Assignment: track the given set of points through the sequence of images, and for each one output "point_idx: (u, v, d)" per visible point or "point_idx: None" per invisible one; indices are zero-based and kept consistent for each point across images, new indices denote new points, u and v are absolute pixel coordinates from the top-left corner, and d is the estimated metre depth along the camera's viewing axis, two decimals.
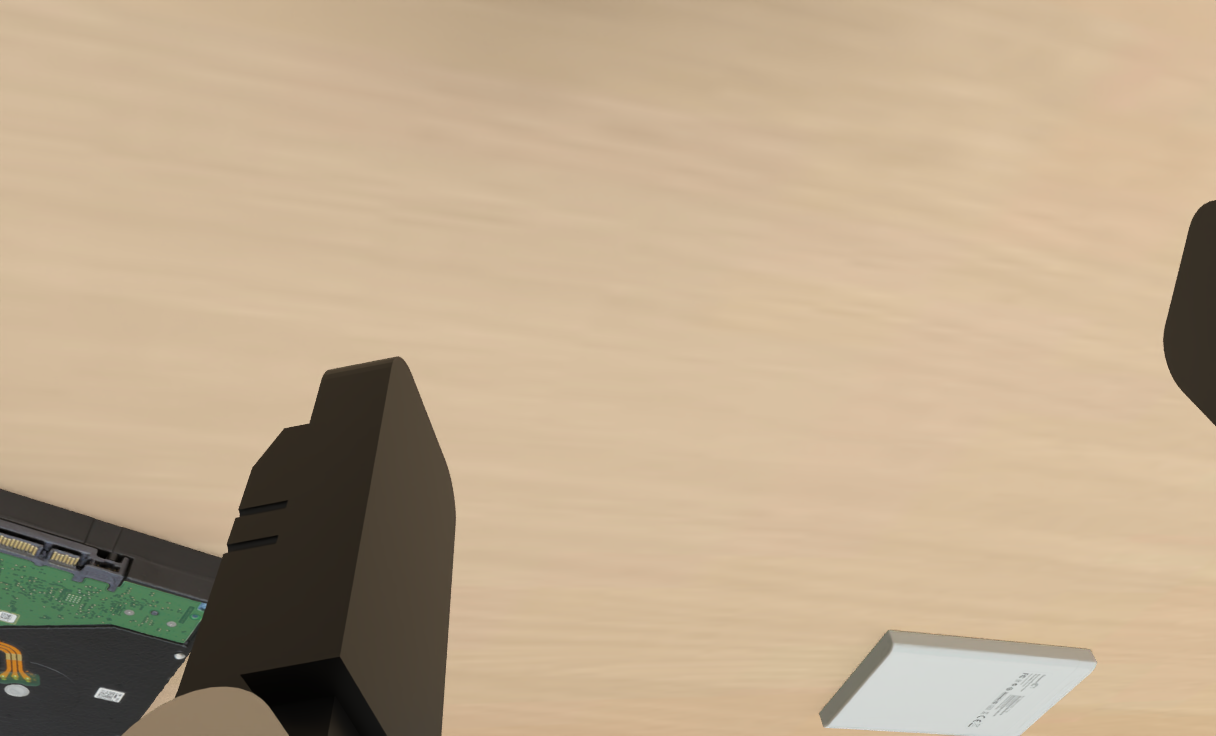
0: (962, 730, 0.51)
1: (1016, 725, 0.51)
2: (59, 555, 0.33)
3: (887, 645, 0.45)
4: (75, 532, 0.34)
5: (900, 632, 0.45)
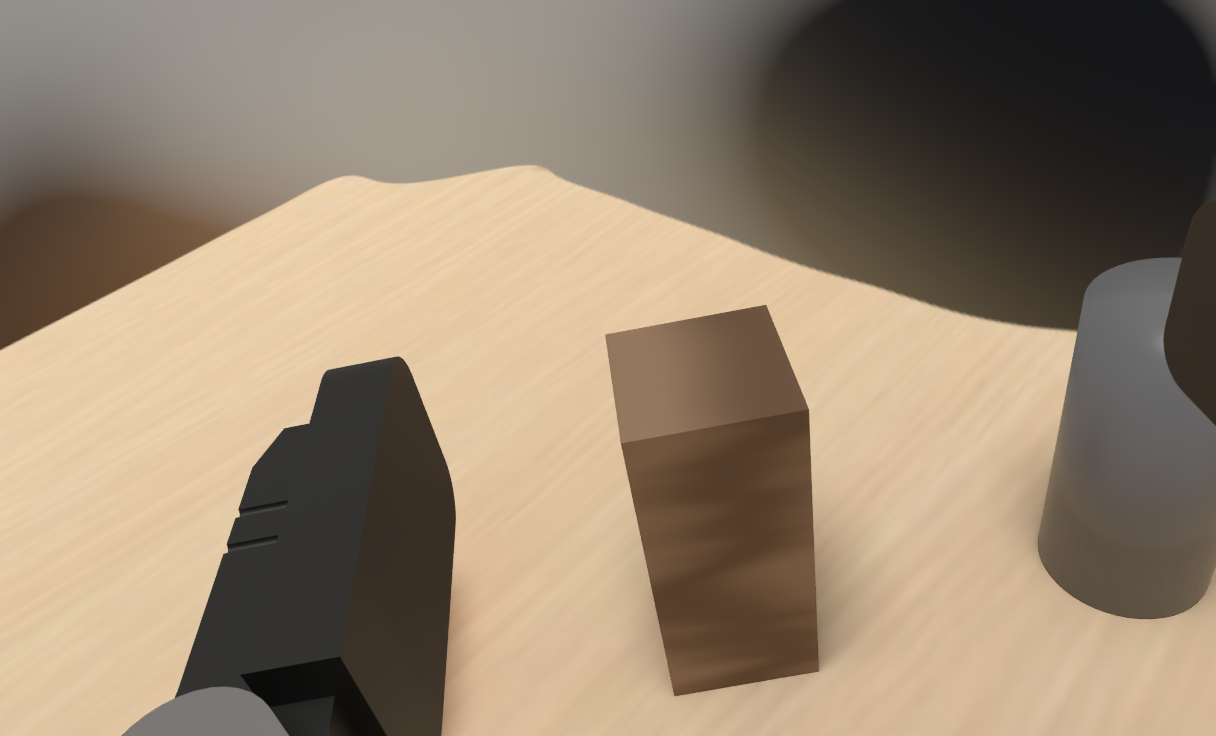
0: None
1: None
2: None
3: None
4: None
5: None
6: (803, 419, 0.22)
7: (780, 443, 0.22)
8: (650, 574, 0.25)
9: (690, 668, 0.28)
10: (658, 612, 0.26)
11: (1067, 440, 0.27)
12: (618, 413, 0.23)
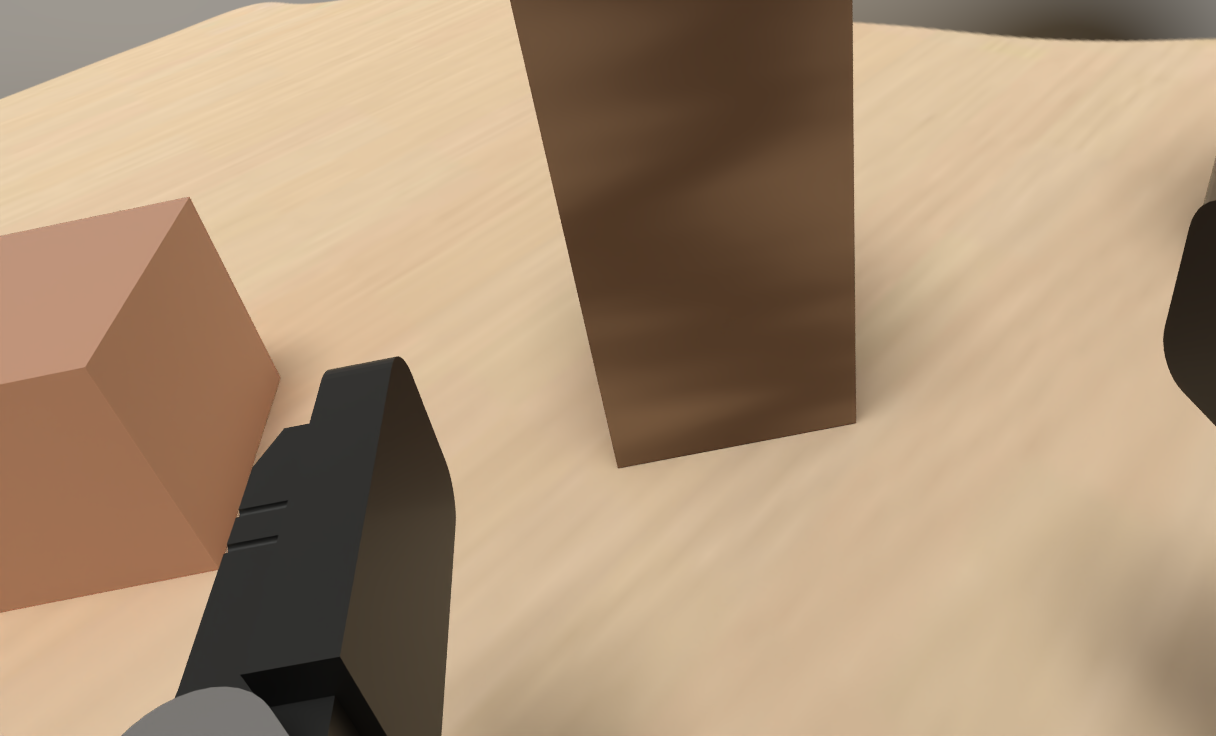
0: None
1: None
2: None
3: None
4: None
5: None
6: None
7: None
8: (555, 184, 0.14)
9: (640, 409, 0.16)
10: (577, 279, 0.15)
11: None
12: None
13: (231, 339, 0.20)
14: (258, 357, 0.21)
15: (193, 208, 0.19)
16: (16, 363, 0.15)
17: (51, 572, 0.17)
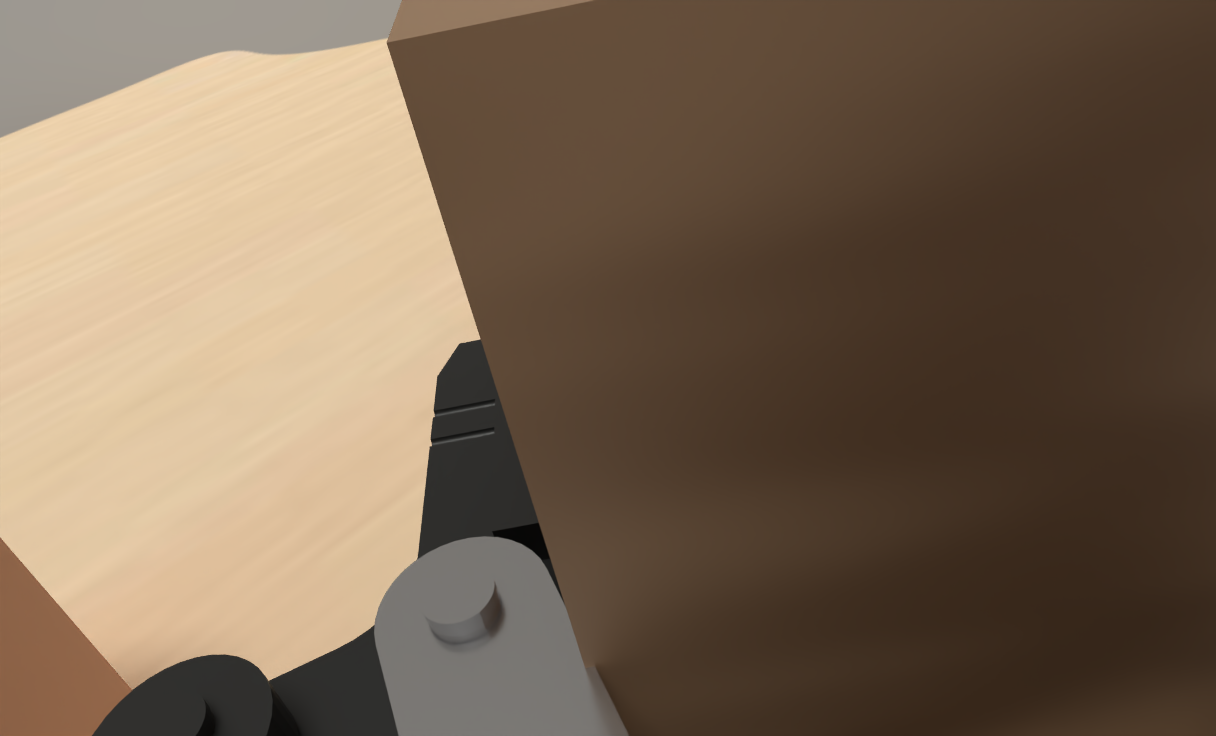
0: None
1: None
2: None
3: None
4: None
5: None
6: None
7: None
8: None
9: None
10: None
11: None
12: None
13: None
14: None
15: None
16: None
17: None
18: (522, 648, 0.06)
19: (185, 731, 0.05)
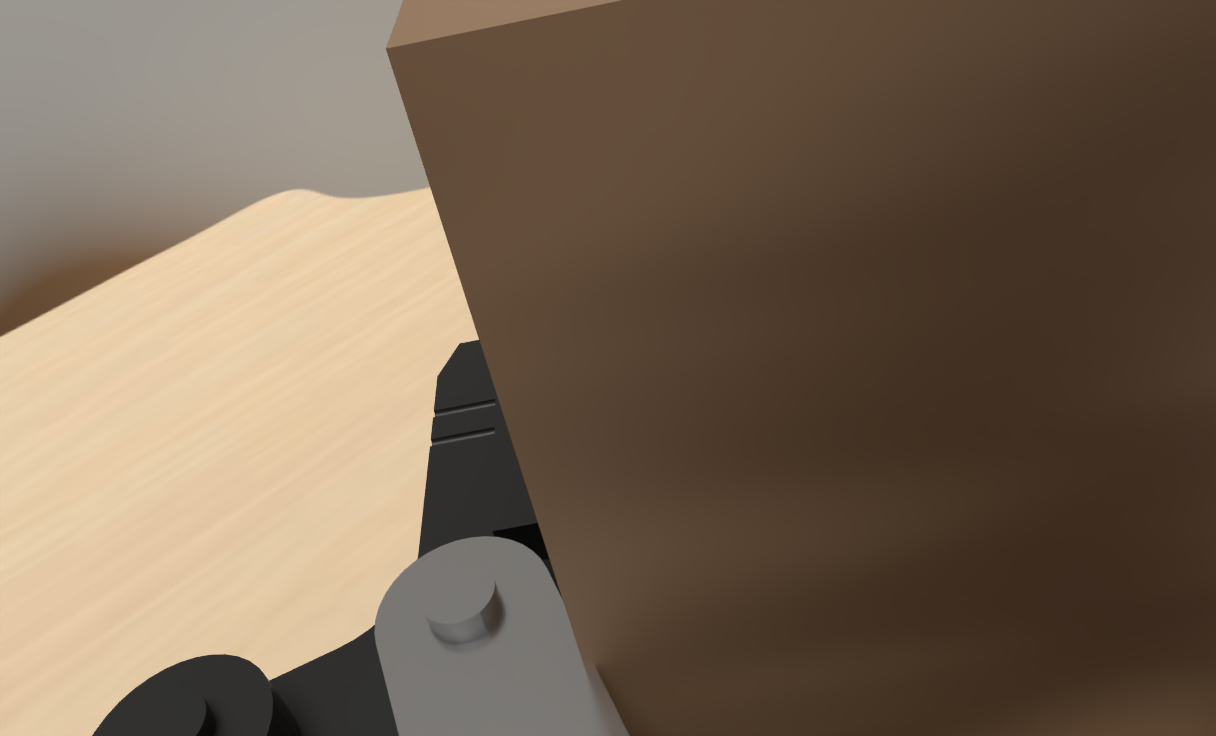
0: None
1: None
2: None
3: None
4: None
5: None
6: None
7: None
8: None
9: None
10: None
11: None
12: None
13: None
14: None
15: None
16: None
17: None
18: (523, 648, 0.06)
19: (185, 731, 0.05)
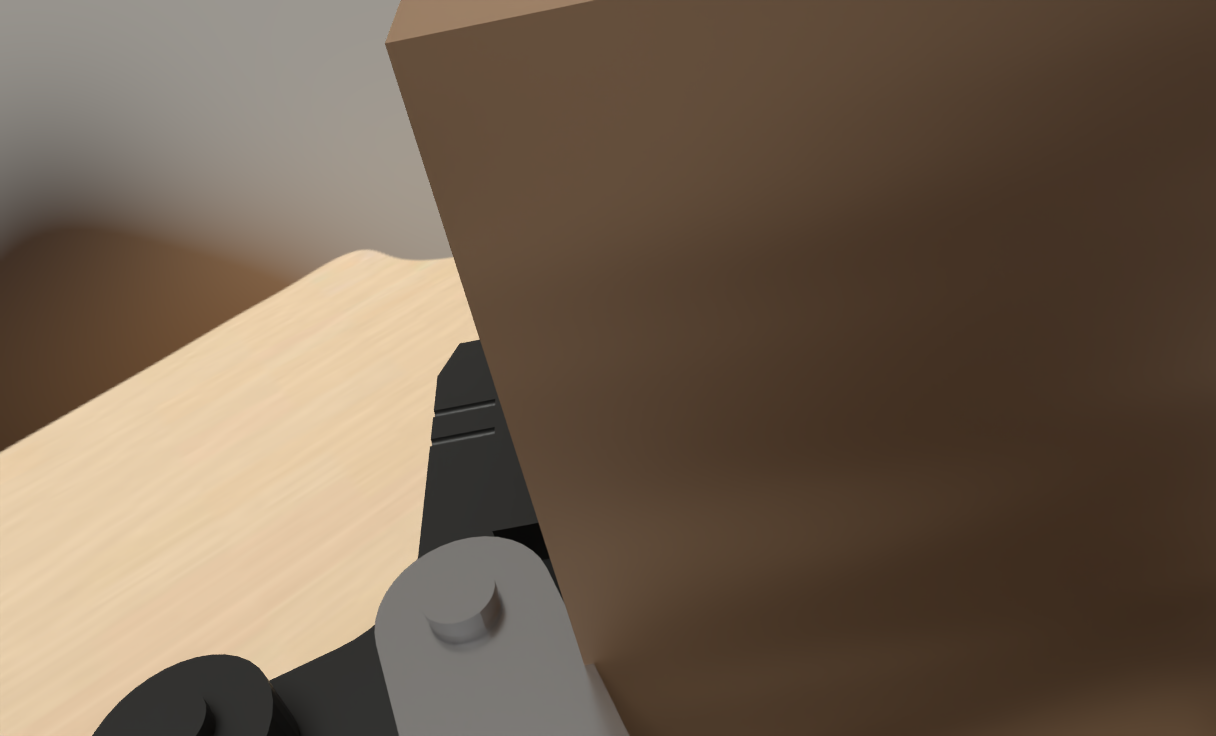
0: None
1: None
2: None
3: None
4: None
5: None
6: None
7: None
8: None
9: None
10: None
11: None
12: None
13: None
14: None
15: None
16: None
17: None
18: (522, 648, 0.06)
19: (186, 731, 0.05)
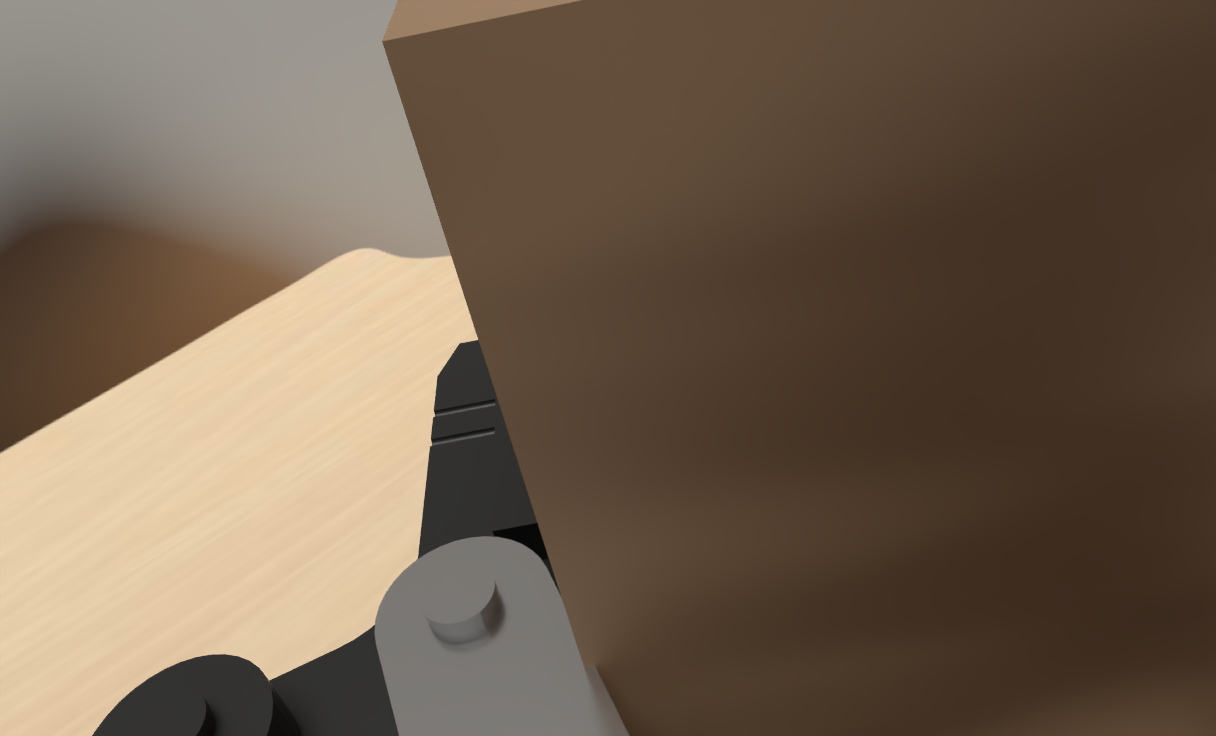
0: None
1: None
2: None
3: None
4: None
5: None
6: None
7: None
8: None
9: None
10: None
11: None
12: None
13: None
14: None
15: None
16: None
17: None
18: (522, 648, 0.06)
19: (186, 731, 0.05)
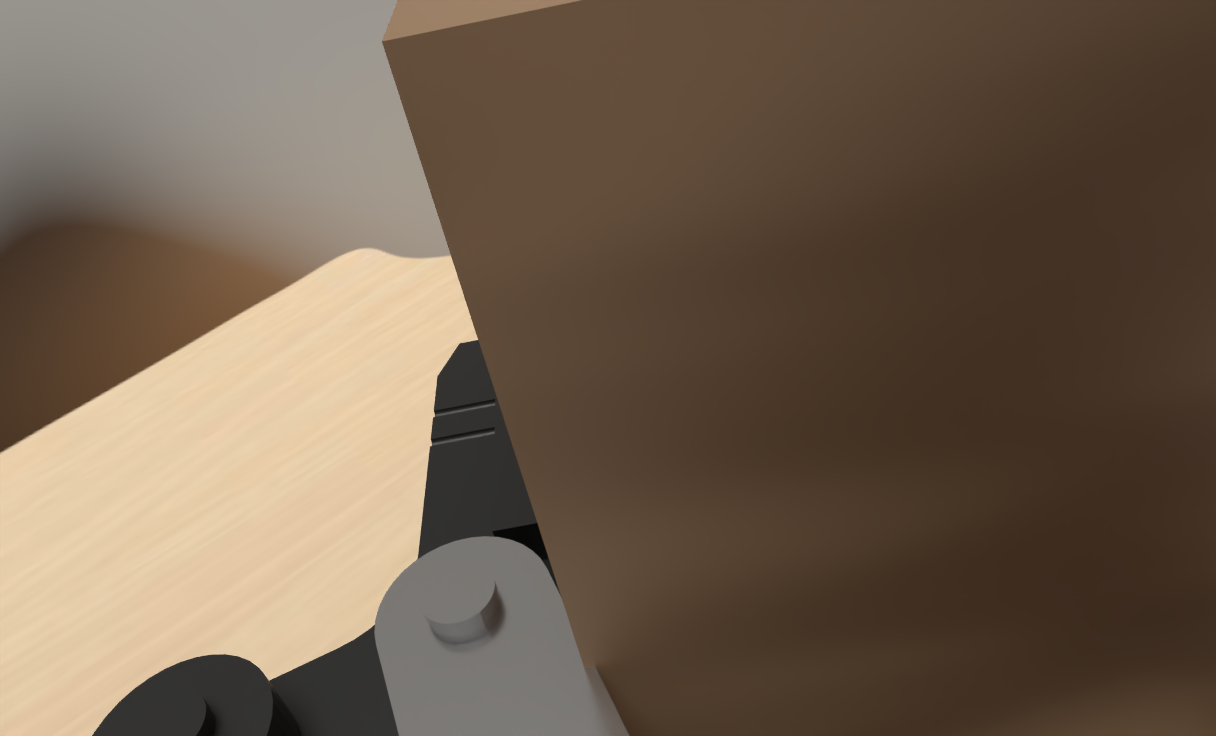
0: None
1: None
2: None
3: None
4: None
5: None
6: None
7: None
8: None
9: None
10: None
11: None
12: None
13: None
14: None
15: None
16: None
17: None
18: (522, 648, 0.06)
19: (186, 731, 0.05)
